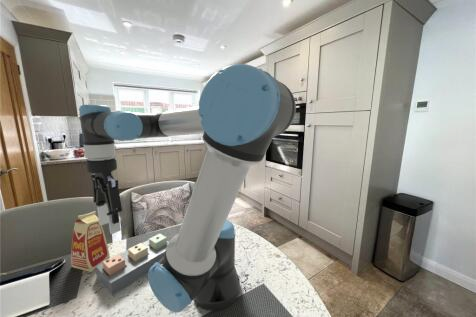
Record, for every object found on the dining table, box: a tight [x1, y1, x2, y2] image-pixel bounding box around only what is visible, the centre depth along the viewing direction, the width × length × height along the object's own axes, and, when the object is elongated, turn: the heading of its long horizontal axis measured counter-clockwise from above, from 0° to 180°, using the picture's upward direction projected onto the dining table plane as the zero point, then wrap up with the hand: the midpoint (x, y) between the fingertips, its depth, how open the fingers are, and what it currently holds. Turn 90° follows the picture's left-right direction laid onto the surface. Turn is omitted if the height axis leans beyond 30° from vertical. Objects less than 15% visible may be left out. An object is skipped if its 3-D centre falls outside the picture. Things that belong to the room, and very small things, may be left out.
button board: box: [95, 239, 169, 297], centre depth 72 cm, size 12×23×4 cm, turn 144°
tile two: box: [127, 242, 148, 262], centre depth 71 cm, size 5×5×3 cm
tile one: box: [148, 233, 168, 250], centre depth 78 cm, size 5×5×3 cm
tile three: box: [103, 253, 126, 276], centre depth 65 cm, size 5×5×3 cm
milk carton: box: [70, 210, 111, 273], centre depth 73 cm, size 9×9×20 cm
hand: (109, 227), depth 62 cm, fingers open, 8 cm apart
